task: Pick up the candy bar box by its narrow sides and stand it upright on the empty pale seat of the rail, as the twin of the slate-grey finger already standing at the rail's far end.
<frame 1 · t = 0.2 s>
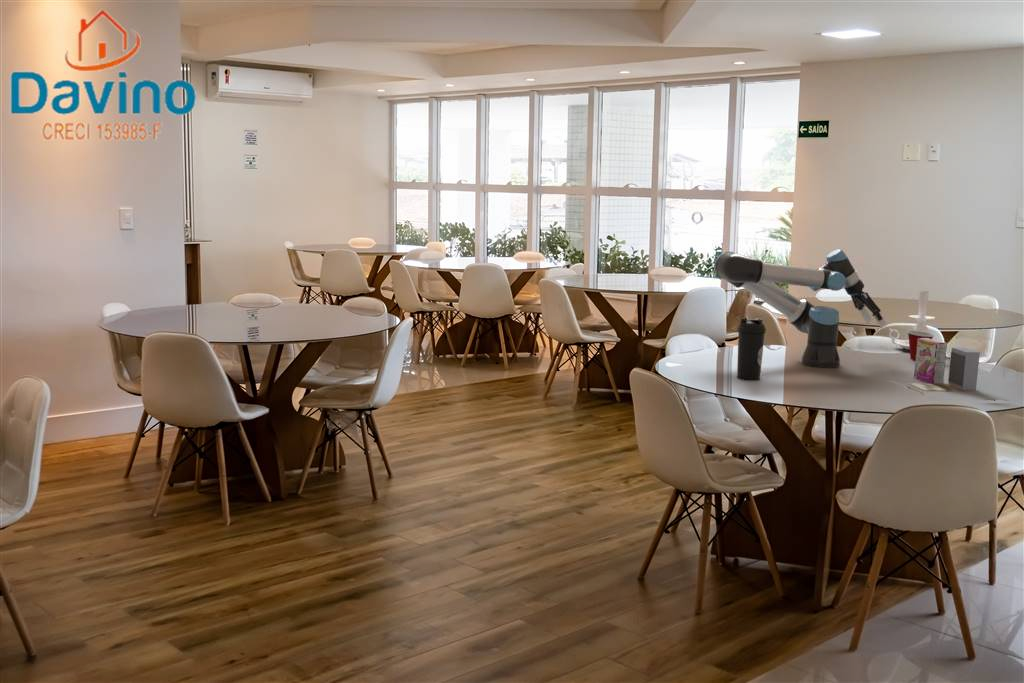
hand: (876, 323, 424), 15 cm above the table, tool tilted 35°, fingers open, 13 cm apart
water bottle: (748, 379, 376), on the table
candlestick: (914, 350, 454), on the table
plastic cup: (918, 360, 428), on the table
rail: (942, 390, 364), on the table
candy bar box: (928, 383, 377), on the table
fixed finger: (961, 387, 364), resting on rail
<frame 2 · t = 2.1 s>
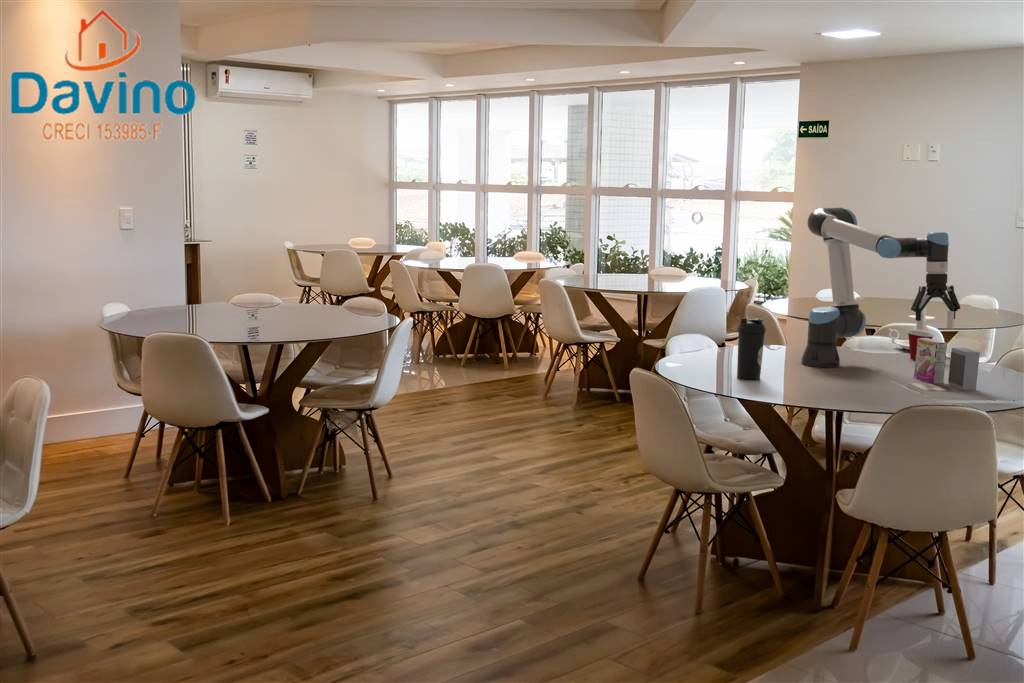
hand: (935, 328, 380), 20 cm above the table, tool pointing down, fingers open, 13 cm apart
nothing on the table moved.
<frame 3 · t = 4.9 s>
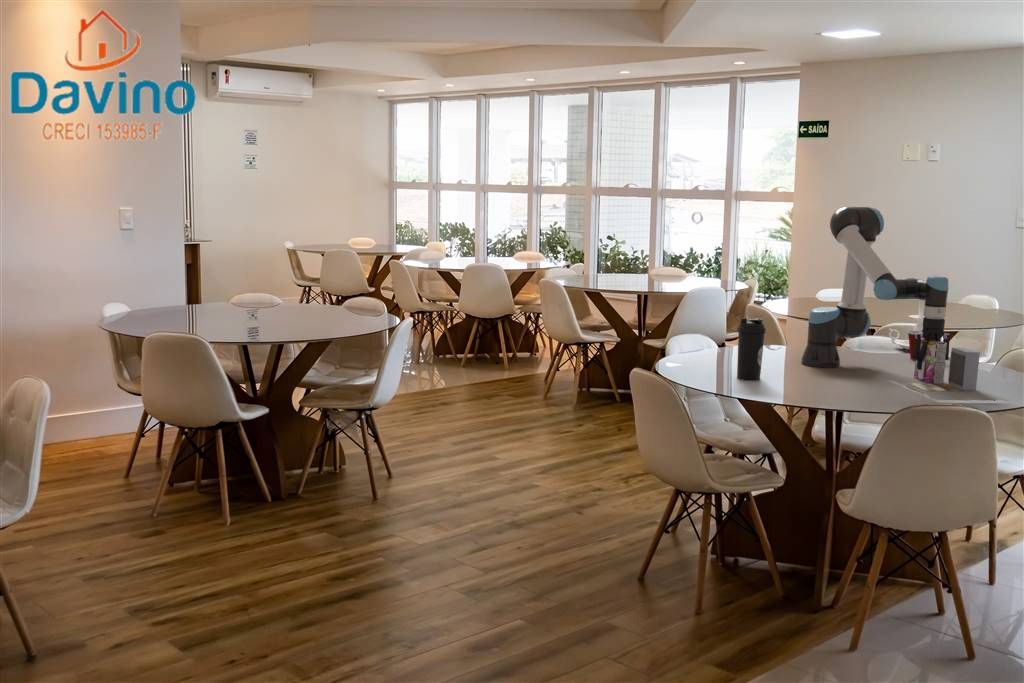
hand: (928, 378, 376), 2 cm above the table, tool pointing down, fingers closed on candy bar box, 6 cm apart
candy bar box: (927, 383, 377), on the table, touching gripper
everything else where it was.
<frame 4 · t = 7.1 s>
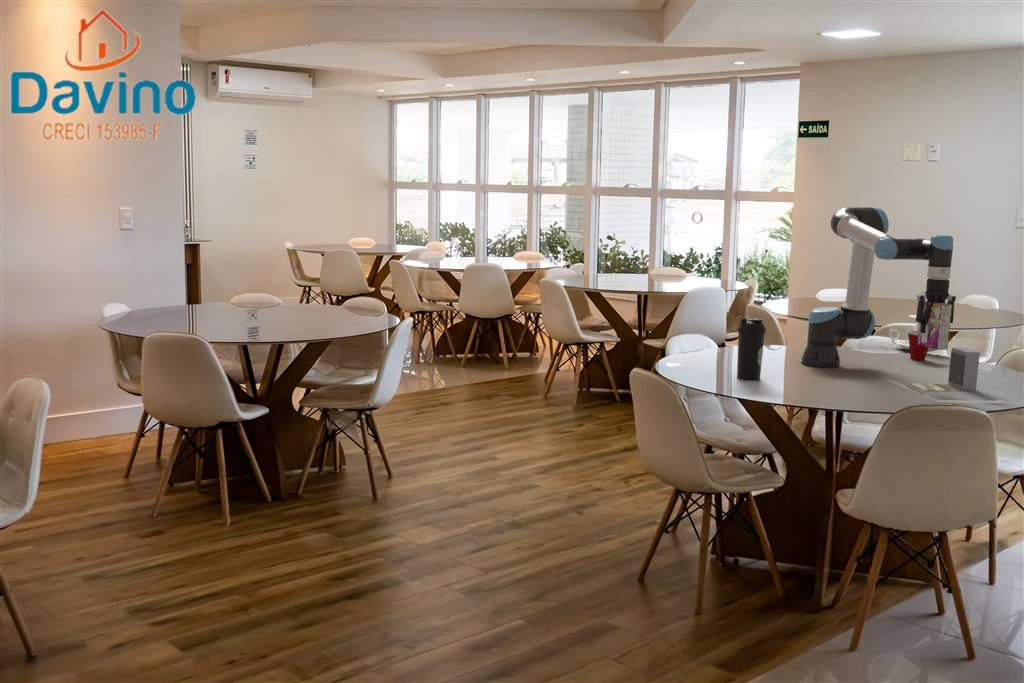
hand: (932, 342, 360), 18 cm above the table, tool pointing down, fingers closed on candy bar box, 6 cm apart
candy bar box: (931, 347, 361), point 16 cm above the table, touching gripper
everything else where it was.
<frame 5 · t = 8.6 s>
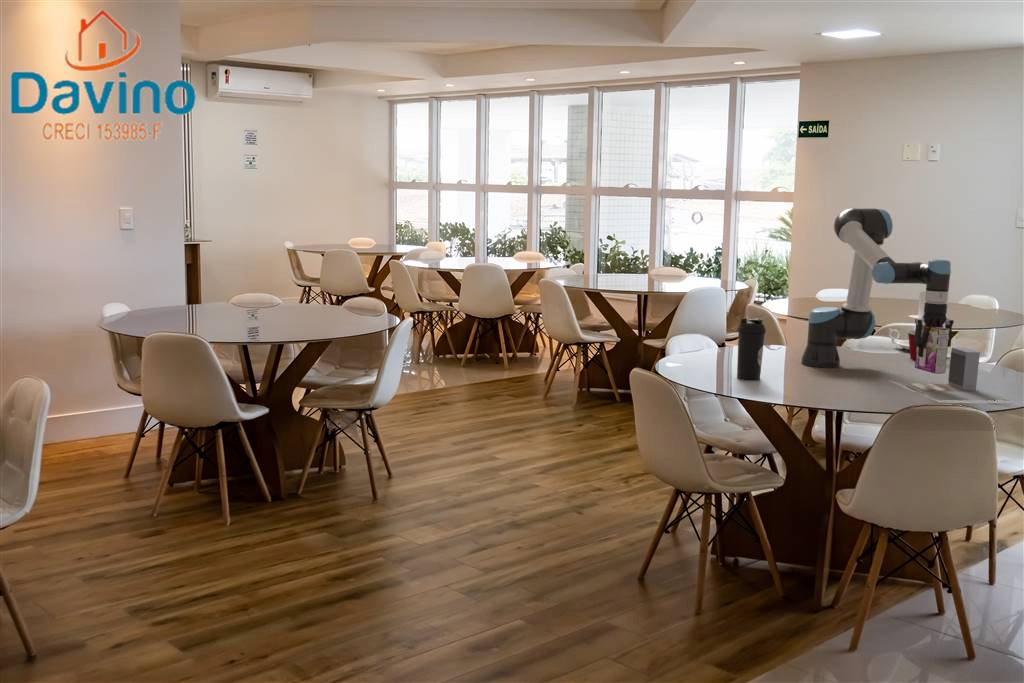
hand: (930, 365, 362), 9 cm above the table, tool pointing down, fingers closed on candy bar box, 6 cm apart
candy bar box: (929, 371, 362), point 7 cm above the table, touching gripper
everything else where it was.
when the fingers open (5 cm above the table, at t = 9.8 s): candy bar box drops 1 cm, resting on rail.
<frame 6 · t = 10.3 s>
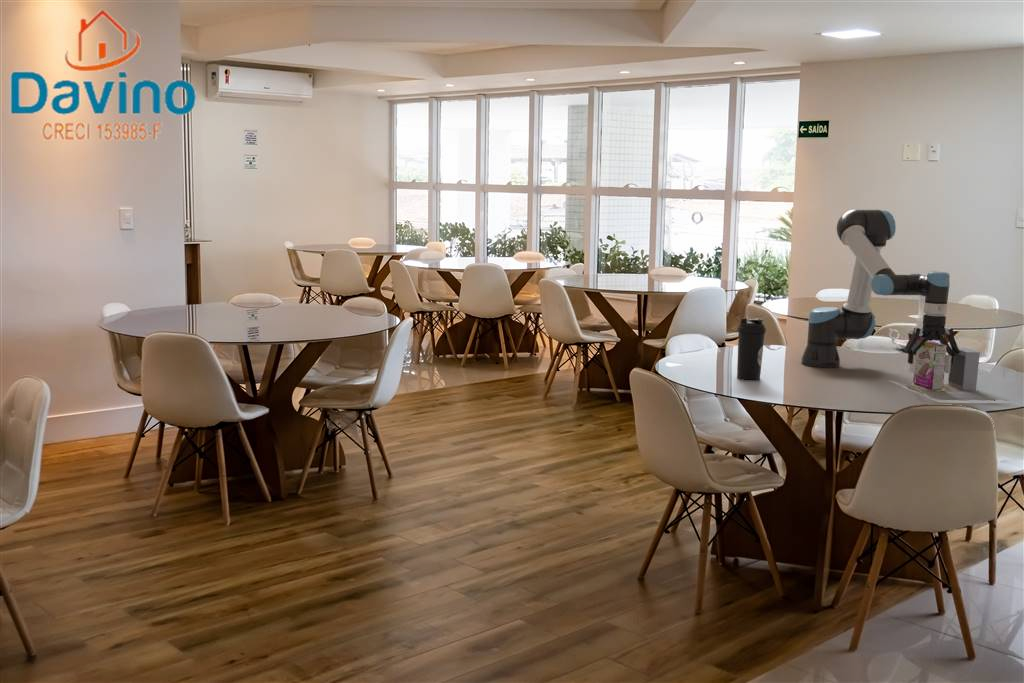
hand: (929, 372, 362), 6 cm above the table, tool pointing down, fingers open, 13 cm apart
candy bar box: (927, 387, 363), point 1 cm above the table, touching rail
everything else where it was.
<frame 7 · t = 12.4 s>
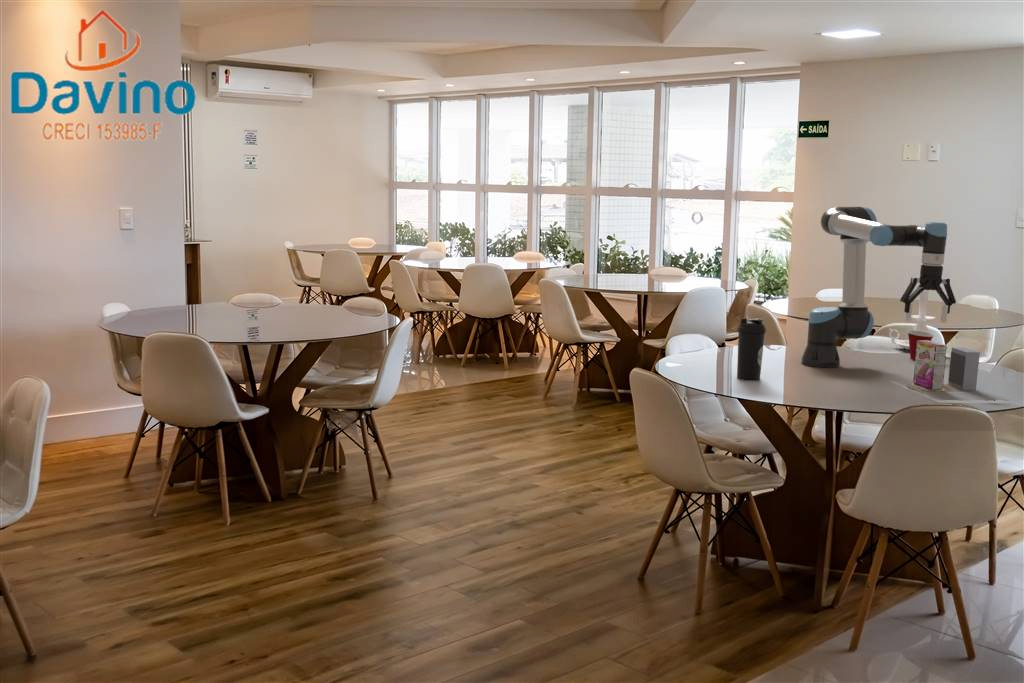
hand: (925, 322, 368), 24 cm above the table, tool pointing down, fingers open, 13 cm apart
nothing on the table moved.
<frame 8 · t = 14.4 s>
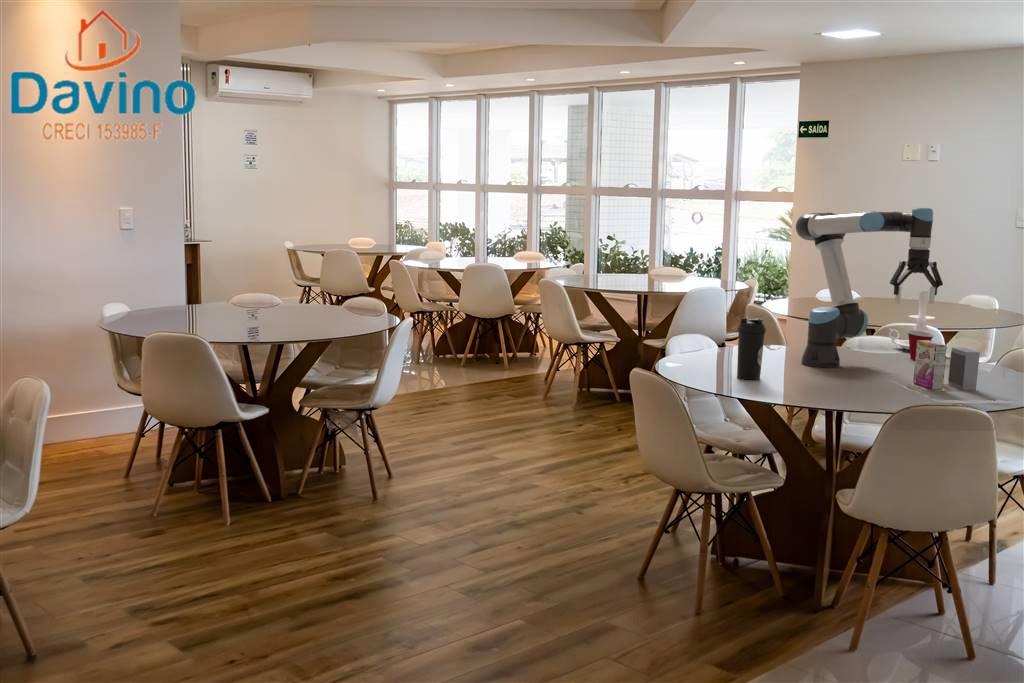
hand: (914, 303, 384), 29 cm above the table, tool pointing down, fingers open, 13 cm apart
nothing on the table moved.
at the end: candy bar box inside the target area (0.2 cm from its centre), point 1.0 cm above the table; candy bar box tilted 0°; the gripper is holding nothing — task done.
